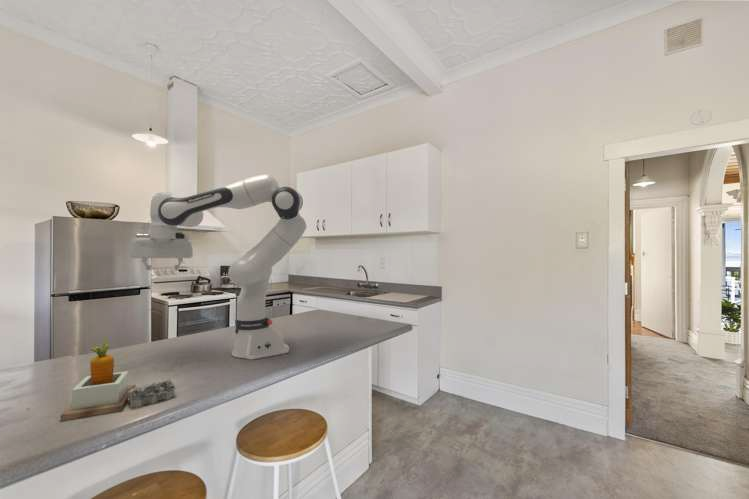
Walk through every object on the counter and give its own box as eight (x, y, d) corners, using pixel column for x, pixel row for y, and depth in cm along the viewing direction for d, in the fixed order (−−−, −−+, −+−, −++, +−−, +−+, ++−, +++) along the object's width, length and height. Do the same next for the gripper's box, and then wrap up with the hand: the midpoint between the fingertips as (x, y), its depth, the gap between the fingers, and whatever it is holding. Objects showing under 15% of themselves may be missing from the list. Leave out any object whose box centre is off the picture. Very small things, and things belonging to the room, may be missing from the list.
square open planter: (127, 388, 92) (128, 371, 92) (118, 402, 84) (118, 383, 84) (86, 394, 88) (86, 376, 88) (71, 409, 80) (72, 389, 80)
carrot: (98, 403, 83) (99, 346, 83) (85, 401, 84) (85, 344, 84) (118, 395, 88) (118, 341, 88) (105, 393, 89) (105, 339, 89)
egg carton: (129, 411, 83) (129, 395, 83) (126, 401, 88) (126, 386, 88) (176, 398, 90) (176, 384, 90) (171, 389, 95) (171, 376, 95)
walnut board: (135, 389, 95) (135, 384, 95) (121, 411, 82) (122, 405, 82) (83, 397, 89) (83, 391, 90) (60, 421, 77) (60, 415, 77)
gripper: (128, 233, 116) (127, 270, 116) (192, 235, 125) (191, 270, 125) (132, 234, 122) (132, 269, 122) (193, 235, 131) (193, 269, 131)
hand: (162, 269), depth 124 cm, fingers open, 8 cm apart
